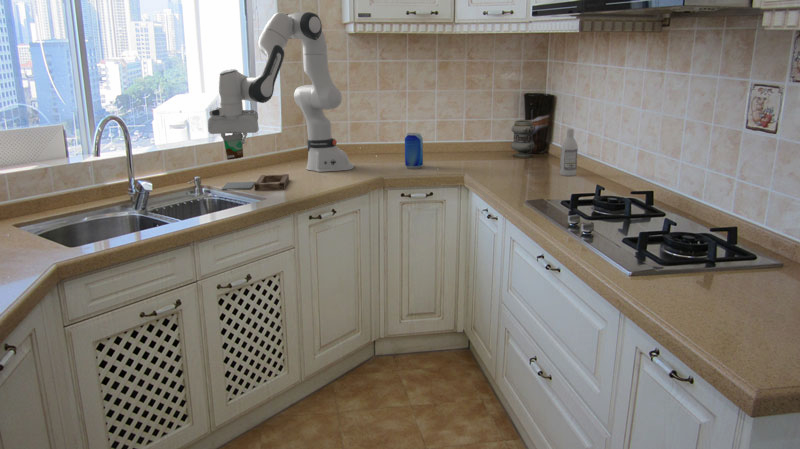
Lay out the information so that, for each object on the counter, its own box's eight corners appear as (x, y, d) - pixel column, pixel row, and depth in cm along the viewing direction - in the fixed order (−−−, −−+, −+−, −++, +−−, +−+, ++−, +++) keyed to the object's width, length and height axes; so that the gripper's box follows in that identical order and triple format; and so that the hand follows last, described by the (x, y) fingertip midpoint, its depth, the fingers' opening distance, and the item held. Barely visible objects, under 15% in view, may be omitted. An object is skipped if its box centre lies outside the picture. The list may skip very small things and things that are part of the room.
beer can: (402, 168, 302) (401, 134, 298) (409, 165, 310) (408, 132, 305) (419, 169, 299) (418, 135, 295) (425, 166, 307) (425, 132, 302)
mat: (255, 182, 279) (255, 181, 278) (250, 189, 267) (250, 187, 267) (227, 183, 278) (227, 182, 278) (221, 190, 266) (221, 188, 266)
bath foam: (579, 175, 281) (582, 129, 275) (566, 176, 278) (569, 130, 272) (568, 172, 287) (571, 127, 281) (556, 174, 284) (558, 128, 278)
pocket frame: (288, 179, 283) (288, 174, 283) (284, 189, 266) (283, 183, 265) (261, 180, 283) (261, 175, 282) (254, 190, 265) (254, 184, 264)
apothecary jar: (512, 153, 333) (513, 119, 328) (536, 154, 329) (537, 119, 324) (508, 158, 323) (509, 122, 317) (532, 159, 319) (534, 122, 313)
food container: (240, 159, 263) (237, 134, 260) (226, 160, 263) (222, 135, 261) (250, 154, 274) (246, 131, 272) (236, 155, 275) (232, 132, 272)
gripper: (258, 109, 267) (261, 142, 271) (208, 110, 266) (212, 143, 270) (256, 110, 261) (259, 144, 265) (205, 111, 260) (208, 145, 264)
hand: (235, 144), depth 267 cm, fingers closed on food container, 5 cm apart
